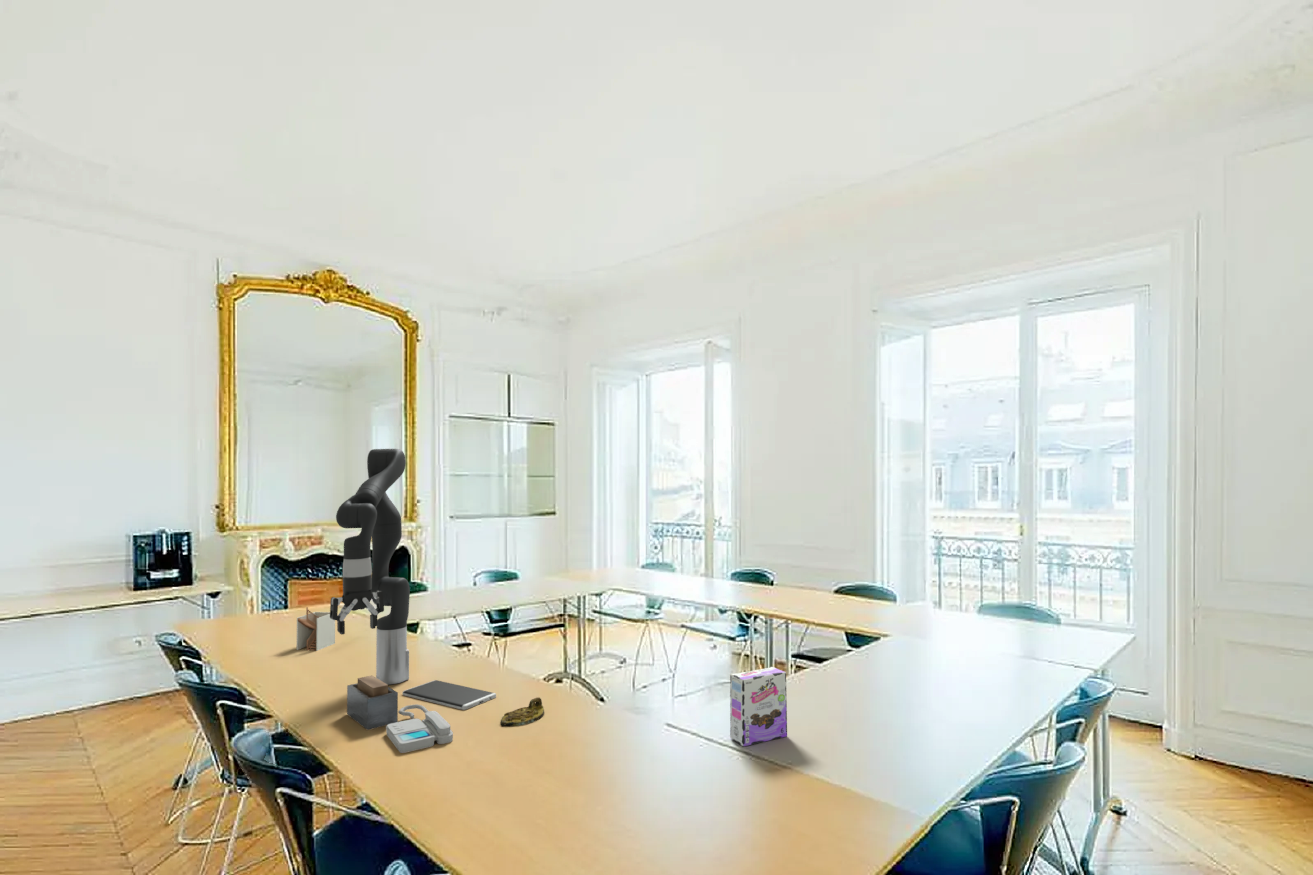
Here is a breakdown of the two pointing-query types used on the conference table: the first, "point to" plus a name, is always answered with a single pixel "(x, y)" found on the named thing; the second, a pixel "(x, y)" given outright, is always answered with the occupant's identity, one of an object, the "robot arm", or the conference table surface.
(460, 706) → the smartphone
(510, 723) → the seal
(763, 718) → the candy box
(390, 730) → the intercom
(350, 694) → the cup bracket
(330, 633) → the staircase
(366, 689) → the brown rectangular block
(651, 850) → the conference table surface
